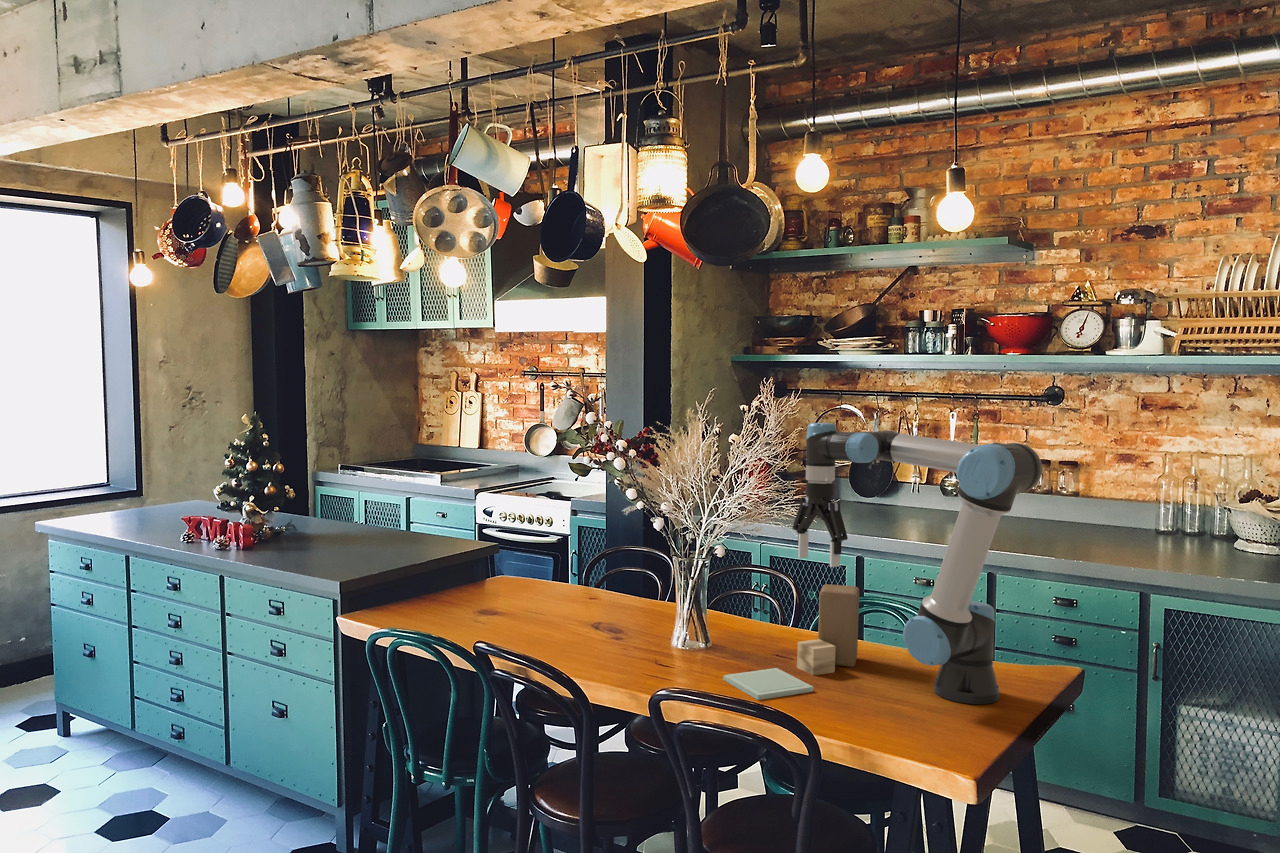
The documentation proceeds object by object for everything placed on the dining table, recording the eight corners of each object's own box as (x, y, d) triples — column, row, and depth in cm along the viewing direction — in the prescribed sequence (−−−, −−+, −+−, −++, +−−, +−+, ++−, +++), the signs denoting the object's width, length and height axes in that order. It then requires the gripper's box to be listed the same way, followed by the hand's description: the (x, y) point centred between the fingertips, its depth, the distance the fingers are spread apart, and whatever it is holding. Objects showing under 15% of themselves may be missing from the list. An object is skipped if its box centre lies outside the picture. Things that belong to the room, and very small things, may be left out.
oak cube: (834, 672, 246) (835, 646, 245) (812, 675, 243) (813, 649, 242) (818, 664, 252) (819, 639, 252) (796, 667, 249) (797, 641, 249)
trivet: (813, 691, 230) (813, 686, 230) (757, 700, 223) (757, 694, 223) (776, 672, 244) (776, 667, 244) (723, 679, 238) (723, 675, 238)
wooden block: (857, 657, 259) (859, 586, 258) (855, 668, 249) (857, 593, 248) (820, 654, 262) (822, 583, 261) (816, 664, 252) (819, 590, 251)
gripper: (862, 486, 237) (860, 569, 238) (803, 476, 259) (801, 553, 260) (839, 487, 234) (837, 571, 235) (780, 477, 256) (779, 554, 257)
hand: (818, 562), depth 248 cm, fingers open, 13 cm apart
